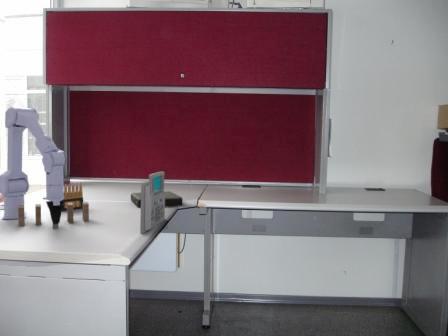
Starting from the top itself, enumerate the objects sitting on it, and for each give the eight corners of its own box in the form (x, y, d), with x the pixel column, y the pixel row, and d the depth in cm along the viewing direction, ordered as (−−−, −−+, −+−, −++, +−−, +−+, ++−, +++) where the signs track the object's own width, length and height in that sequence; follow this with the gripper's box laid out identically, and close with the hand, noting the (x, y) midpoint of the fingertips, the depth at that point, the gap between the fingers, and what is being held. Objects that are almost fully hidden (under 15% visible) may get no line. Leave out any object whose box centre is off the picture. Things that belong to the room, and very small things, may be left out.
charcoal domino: (52, 226, 145) (52, 207, 145) (57, 225, 146) (57, 206, 145) (53, 229, 141) (52, 209, 140) (58, 228, 142) (58, 209, 141)
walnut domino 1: (19, 223, 148) (18, 205, 147) (24, 223, 149) (24, 204, 148) (18, 226, 143) (18, 207, 143) (24, 226, 144) (23, 207, 143)
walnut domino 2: (35, 222, 150) (35, 204, 150) (40, 222, 151) (40, 204, 150) (35, 225, 146) (35, 206, 145) (41, 225, 146) (40, 206, 146)
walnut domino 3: (67, 220, 155) (67, 202, 154) (72, 220, 156) (72, 202, 155) (68, 223, 150) (68, 204, 150) (73, 222, 151) (73, 204, 151)
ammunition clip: (60, 211, 171) (60, 184, 170) (58, 211, 172) (58, 183, 171) (83, 208, 179) (83, 182, 178) (81, 208, 180) (81, 181, 179)
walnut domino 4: (82, 219, 157) (82, 202, 157) (87, 219, 158) (87, 201, 157) (83, 222, 153) (83, 204, 152) (88, 221, 154) (88, 203, 153)
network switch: (187, 206, 191) (187, 196, 191) (140, 210, 179) (140, 199, 179) (168, 199, 211) (168, 190, 210) (125, 202, 199) (125, 192, 198)
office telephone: (146, 234, 136) (147, 177, 135) (139, 234, 137) (139, 176, 135) (168, 220, 159) (168, 171, 157) (161, 220, 160) (162, 170, 158)
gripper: (41, 182, 147) (42, 218, 148) (43, 187, 134) (44, 227, 135) (62, 181, 150) (62, 217, 151) (66, 186, 137) (66, 225, 138)
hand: (55, 221), depth 143 cm, fingers closed on charcoal domino, 5 cm apart
